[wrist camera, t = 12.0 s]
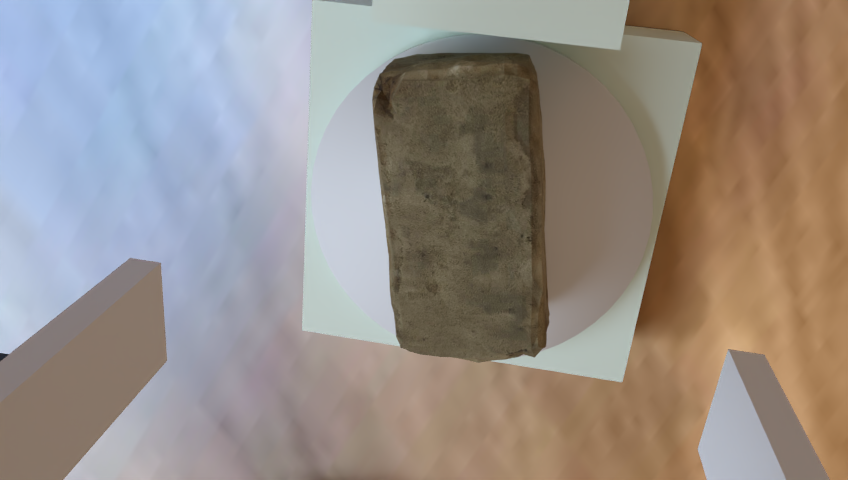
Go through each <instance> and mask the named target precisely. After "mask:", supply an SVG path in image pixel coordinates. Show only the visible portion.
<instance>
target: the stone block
mask: <svg viewBox="0 0 848 480" xmlns="http://www.w3.org/2000/svg"><path fill="white" fill-rule="evenodd" d="M372 104H373V119H374V130H375V140H376V149H377V158H378V169H379V179H380V187H381V195H382V204H383V212H384V220H385V229H386V239H387V247H388V255H389V283H390V297H391V305H392V308H393V312H394V319H395V329H396V338H397V340H398V342H399V344H400V348H404V349H406V350H408V351H410V352H414V353H418V354H423V355H431V356H439V357H453V358H460V359H465V360H470V361H474V362H478V363H479V362H485V361H493V360H505V359H510V358H516V357H519V356H521V355H527V356H531V357H534V358H535V357H536V356H537V354H538V353H539V352H540V351H541V350H542V349H543V348H545V347H546V341H547V334H546V333H547V328H548V326H549V315H550V313H549V307H548V288H547V266H546V249H545V231H544V226H545V201H546V177H545V159H544V150H543V135H542V114H541V107H540V94H539V86H538V78H537V72H536V70H535V66H534V65H533V63H532V60H531V58H530V55H527V54H521V53H435V54H415V55H411V56H407V57H403V58H397V59H394V60H393V61H392V62H391V63H389V64H388V65H387V66H386V68H385V69H384V70H383V72H382V73H380V74H379V77H378V79H377V81H376V84H375V86H374V90H373V97H372Z"/></svg>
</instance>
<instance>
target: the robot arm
mask: <svg viewBox="0 0 848 480" xmlns="http://www.w3.org/2000/svg"><path fill="white" fill-rule="evenodd" d="M166 361H167V354H166V338H165V323H164V307H163V292H162V276H161V263H159V262H153V261H146V260H139V259H133V258H130V259H128V260H127V261H126V262H125V263H123V264H122V265H121V266H120V267H118V268H117V269H116V270H115V271H113V272H112V273H111V274H110V275H108V276H107V277H106V278H105V279H103V280H102V281H101V282H100V283H98V284H97V285H96V286H94V287H93V288H92V289H91V290H89V291H88V292H87V293H86V294H84V295H83V296H82V297H81V298H79V299H78V300H77V301H76V302H74V303H73V304H72V305H71V306H69V307H68V308H67V309H66V310H64V311H63V312H62V313H61V314H59V315H58V316H57V317H56V318H54V319H53V320H52V321H50V322H49V323H48V324H47V325H45V326H44V327H43V328H42V329H40V330H39V331H38V332H37V333H35V334H34V335H33V336H32V337H30V338H29V339H28V340H27V341H25V342H24V343H23V344H22V345H20V346H19V347H18V348H17V349H15V350H14V351H13V352H12V353H10V354H3V353H0V480H63V479H64V478H65V477H66V476H67V475H68V473H69V472H70V471H71V470H72V469H73V468H74V467H75V465H76V464H77V463H78V462H79V461H80V460H81V459H82V457H83V456H84V455H85V454H86V453H87V452H88V451H89V449H90V448H91V447H92V446H93V445H94V444H95V442H96V441H97V440H98V439H99V438H100V437H101V436H102V434H103V433H104V432H105V431H106V430H107V429H108V428H109V426H110V425H111V424H112V423H113V422H114V421H115V420H116V418H117V417H118V416H119V415H120V414H121V413H122V412H123V410H124V409H125V408H126V407H127V406H128V405H129V403H130V402H131V401H132V400H133V399H134V398H135V397H136V395H137V394H138V393H139V392H140V391H141V390H142V389H143V387H144V386H145V385H146V384H147V383H148V382H149V381H150V379H151V378H152V377H153V376H154V375H155V374H156V373H157V371H158V370H159V369H160V368H161V367H162V366H163V365H164V363H165V362H166ZM698 451H699V455H700V458H701V461H702V465H703V468H704V471H705V475H706V478H707V480H830V479H829V477H828V475H827V473H826V472H825V470H824V468H823V466H822V464H821V462H820V460H819V458H818V456H817V454H816V452H815V451H814V449H813V447H812V445H811V443H810V441H809V439H808V437H807V435H806V433H805V431H804V430H803V428H802V426H801V424H800V422H799V420H798V418H797V416H796V414H795V412H794V410H793V409H792V407H791V405H790V403H789V401H788V399H787V397H786V395H785V393H784V391H783V389H782V388H781V386H780V384H779V382H778V380H777V378H776V376H775V374H774V372H773V370H772V368H771V366H770V365H769V363H768V361H767V359H766V357H765V355H763V354H756V353H750V352H743V351H737V350H730V349H728V352H727V355H726V358H725V362H724V365H723V368H722V371H721V375H720V378H719V381H718V385H717V388H716V391H715V394H714V398H713V401H712V404H711V407H710V411H709V414H708V417H707V421H706V424H705V427H704V430H703V434H702V437H701V440H700V443H699V447H698Z"/></svg>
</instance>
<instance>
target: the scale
mask: <svg viewBox="0 0 848 480" xmlns="http://www.w3.org/2000/svg"><path fill="white" fill-rule="evenodd" d="M629 1H630V0H312V25H311V57H310V90H309V122H308V155H307V187H306V220H305V252H304V285H303V317H302V330H303V331H309V332H315V333H321V334H328V335H334V336H340V337H346V338H352V339H358V340H365V341H371V342H377V343H383V344H389V345H395V346H400V344H399V342H398V340H397V338H396V329H395V319H394V312H393V308H392V305H391V297H390V283H389V255H388V247H387V239H386V229H385V220H384V212H383V204H382V195H381V187H380V179H379V169H378V158H377V149H376V140H375V130H374V119H373V104H372V97H373V90H374V86H375V84H376V81H377V79H378V77H379V74H380V73H382V72H383V70H384V69H385V68H386V66H387V65H388V64H389V63H391V62H392V61H393V60H394V59H397V58H403V57H407V56H411V55H415V54H435V53H521V54H527V55H530V58H531V60H532V63H533V65H534V66H535V70H536V72H537V78H538V86H539V94H540V107H541V114H542V135H543V150H544V159H545V177H546V201H545V226H544V231H545V249H546V266H547V288H548V307H549V313H550V315H549V326H548V328H547V333H546V334H547V341H546V347H545V348H543V349H542V350H541V351H540V352H539V353H538V354H537V356H536V357H535V358H534V357H531V356H527V355H521V356H519V357H516V358H510V359H505V360H493V361H494V362H500V363H507V364H513V365H519V366H525V367H531V368H537V369H544V370H550V371H556V372H562V373H568V374H574V375H581V376H587V377H593V378H599V379H605V380H611V381H618V382H622V381H623V377H624V373H625V369H626V365H627V360H628V356H629V352H630V348H631V343H632V339H633V335H634V331H635V326H636V322H637V318H638V314H639V309H640V305H641V301H642V297H643V293H644V288H645V284H646V280H647V276H648V271H649V267H650V263H651V259H652V254H653V250H654V246H655V242H656V237H657V233H658V229H659V225H660V221H661V216H662V212H663V208H664V204H665V199H666V195H667V191H668V187H669V182H670V178H671V174H672V170H673V165H674V161H675V157H676V153H677V149H678V144H679V140H680V136H681V132H682V127H683V123H684V119H685V115H686V110H687V106H688V102H689V98H690V93H691V89H692V85H693V81H694V77H695V72H696V68H697V64H698V60H699V55H700V51H701V47H702V43H701V42H699V41H698V40H696V39H694V38H693V37H691V36H689V35H688V34H686V33H685V32H681V31H672V30H663V29H654V28H645V27H636V26H627V25H625V22H626V16H627V11H628V6H629Z"/></svg>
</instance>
